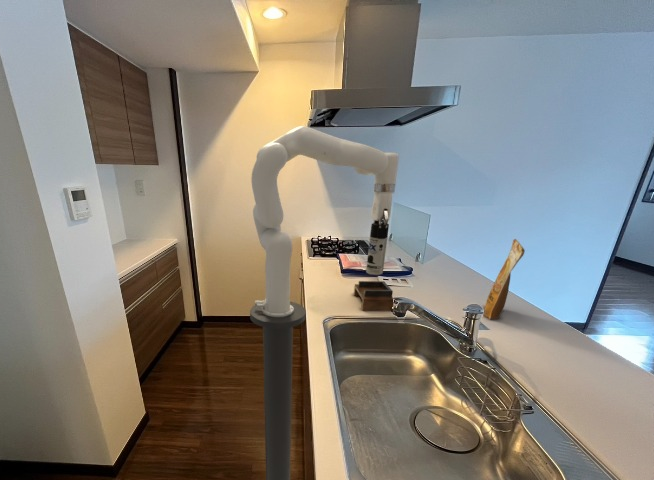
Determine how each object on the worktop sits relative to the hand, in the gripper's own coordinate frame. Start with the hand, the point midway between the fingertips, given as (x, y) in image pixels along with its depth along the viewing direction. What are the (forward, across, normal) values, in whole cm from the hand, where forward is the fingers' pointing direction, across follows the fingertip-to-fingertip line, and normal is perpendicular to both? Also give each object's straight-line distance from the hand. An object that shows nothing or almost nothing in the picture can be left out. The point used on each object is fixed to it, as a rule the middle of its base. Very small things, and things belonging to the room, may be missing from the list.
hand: (378, 236), depth 125 cm
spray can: (+15, 0, 0) cm, 15 cm away
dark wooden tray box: (+28, 0, 0) cm, 28 cm away
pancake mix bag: (+28, +10, +46) cm, 54 cm away
